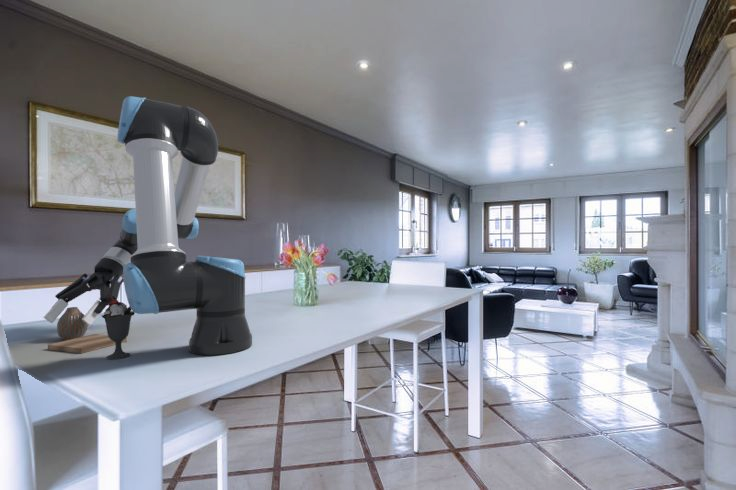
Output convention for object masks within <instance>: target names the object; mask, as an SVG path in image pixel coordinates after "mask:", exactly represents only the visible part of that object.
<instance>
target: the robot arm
mask: <svg viewBox="0 0 736 490" xmlns="http://www.w3.org/2000/svg"><path fill="white" fill-rule="evenodd" d="M117 129H118V130H117V138H116V139H117V143H120V144H122V145H125V146H124V147H125V151H126V153H127V154H128V155H130V156H131V157H132V162H133V163H132V164H133V184H134V199H135V200H134V201H135V203H134V204H135V208H132V209H129V210H128V211H126V212H125V213H124V215H123V218H122V221H121V228H120V232H119V238H118V239H117V240H116V242H115V243H113V245H112V246H111V247H110V248H109V249H108V251H106V253H105V254H104V255H103V256H102V258H100V260H99V261H98V262H97V263H96V264H95V266H94V269H93V270H94V271H93V273H92V274H91V275H88V273H83V274H82V275H81V276H80V277H79V278H78V279H76V280H75V281H73V282H72V283H71V284H69V285H68V286H67V287H65V288H64V289H62V290H61V291H59V292H58V293H57V294H55V295H54V297H55V298H56V299H57V300H56V302H55V303H54V304H53V305H52V307H51V308H50V309H49V310H48V312H47V313H46V314H45V315H44V316H43V317H42V318H43V319H45V320H46V321H47V322H49V323H51V324H53V323H54V322H55V321H56V319H58V317H59V316H61V314H62V312H63V311H65V310H66V309H67V308H68V306H69V302H71V301H73V300H75V299H77V298H78V297H80V296H82V295H83V294H85V293H87V292H92V291H94V290H99V298H98V300H96V301H95V302H94V303H93V305H92V306H91V307H90V309H88V311H87V312H86V313H85V314H84V315H85V316H84V317H83V318H82V320H83V321H84V322H85V323H86V324H88V326H91V325H92V324H93V323H94V322H95V320H96V319H97V318H98V317H99V315H100V314H101V313H103V311H104V310H105V309H106V307H107V306H109V305H108V304H109V303H110V302H111V298H112V297H113V298H114V299H115V300H118V298H119V292H120V290H121V285H122V283H123V285H124V290H125V291H124V292H125V296H126V299H127V302H128V305H129V306H130V308H131V311H133V312H135V314H138V315H143V314H144V315H145V314H146V315H148V314H154V315H157V314H159V313H168V312H178V311H187V310H188V311H189V310H196V320H195V323H194V326H193V329H192V333H191V336H190V338H189V341H188V351H189V352H190V353H192V354H195V355H203V356H215V355H227V354H232V353H236V352H237V353H238V352H241V351H244V350H247V349H248V348H251V346H252V345H253V335H252V333H251V330H250V327H249V324H248V321H247V318H246V277H247V276H246V275H245V264H244V262H243V261H241V259H238V258H237V259H236V258H227V257H215V256H206V255H197V256H195V259H194V260H195V261H187V254H186V252H185V251H184V250H183V249H181V248H180V247H179V240H187V239H188V240H189V239H195V238H197V237H198V234H199V229H200V227H199V226H200V225H199V220H198V218H197V217H196V213H197V209H198V206H199V203H200V200H201V197H202V193H203V191H204V188H205V184H206V181H207V178H208V177H207V176H208V173H209V170H210V167H211V166H212V165H214V163H216V160H217V158H218V157H217V156H218V154H219V141H218V140H219V139H218V136H217V132H216V130H215V129H214V127H213V125H212V123H211V122H210V119H208V118H207V117H206V115H204V114H203V113H202V112H200V111H199V110H197V109H195V108H192V107H189V106H183V105H179V104H173V103H168V102H163V101H158V100H152V99H147V97H139V96H134V95H133V96H132V95H130V96H126V97H125V98H124V99H123V101H122V105H121V110H120V116H119V123H118V128H117ZM179 153H180V155H181V156H182V158H181V162H180V163H181V164H180V167H179V171H178V176H177V179H176V184H175V182H174V169H173V168H174V167H173V159H174V158H176V156H178V154H179ZM122 276H123V277H122ZM107 294H110V295H111V297H110V295H109V296H108V295H107ZM113 298H112V302H113V301H114V299H113Z"/></svg>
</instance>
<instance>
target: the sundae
mask: <svg viewBox="0 0 736 490" xmlns="http://www.w3.org/2000/svg"><path fill="white" fill-rule="evenodd" d="M107 295H108V296H109V295H110V294H107ZM110 297H111V295H110ZM112 298H113V297H112ZM112 298H111V302H110V303H109V304H108V305H107V306H108V307H107V308H105V309H104V310H105V311H104V312H103V314H101V318H103V319H104V321H105V326H106V333H107V335H108V337H109V338H110V339H111V340H112V341H114V342H115V343H116V344H115V349H114V352H113V353H111V354H110V355H109V354H108V355H107V356H106V357H105V359H106V360H120V359H124V358H128V357H130V356H131V352H126V351H125V352H124V350H123V348H122V343H121V342H122V341H123V340H124V339H125V338H126V337H127V338H128V336H129V333H130V327H131V322H132V321H131V319H132V317H133V316H134V315H135V314H136V313H135V312H134V311H133V310H132V309H131V308H130V305H129V306H127V304H125V303H124V302H122V301H119V300H118V299H117V300H115V299H114V298H113V299H114V301H113V302H112Z"/></svg>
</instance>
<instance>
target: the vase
mask: <svg viewBox="0 0 736 490" xmlns="http://www.w3.org/2000/svg"><path fill="white" fill-rule="evenodd" d="M85 315H86V314H84V313H83V312H82V311H81V310H80V309H79V307H78V306H72V307H66V308H65V310H64V312H63V314H62V315H60V318H59V319H58V321H57V324H56V331H57V332H56V333H57V334H58V337H60V339H62V340H63V341H66V340H71V339H75V338H80V337H84V336H85V334H86V332H87V331H88V326H89V325H88V324H86V323H85V322H84V321H83V320H82V318H83V317H84V316H85Z"/></svg>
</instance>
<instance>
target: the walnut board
mask: <svg viewBox="0 0 736 490" xmlns="http://www.w3.org/2000/svg"><path fill="white" fill-rule="evenodd" d="M127 338H128V336H127V337H126V338H125V339H124V340H123V341H122V342H121V344H122V343H126V342H127ZM110 346H116V343H115V342H114V341H112V340H111V339H110V338H109V337H108V334H107V335H106V334H99V333H94V334H93V333H92V334H90V335H83V337H80V338H75V339H71V340H63V341H62V340H61V341H58V342H54V343H50V344H47V350H49V351H59V352H67V353H74V354H85V353H88V352H92V351H96V350H99V349H103V348H107V347H110Z"/></svg>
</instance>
